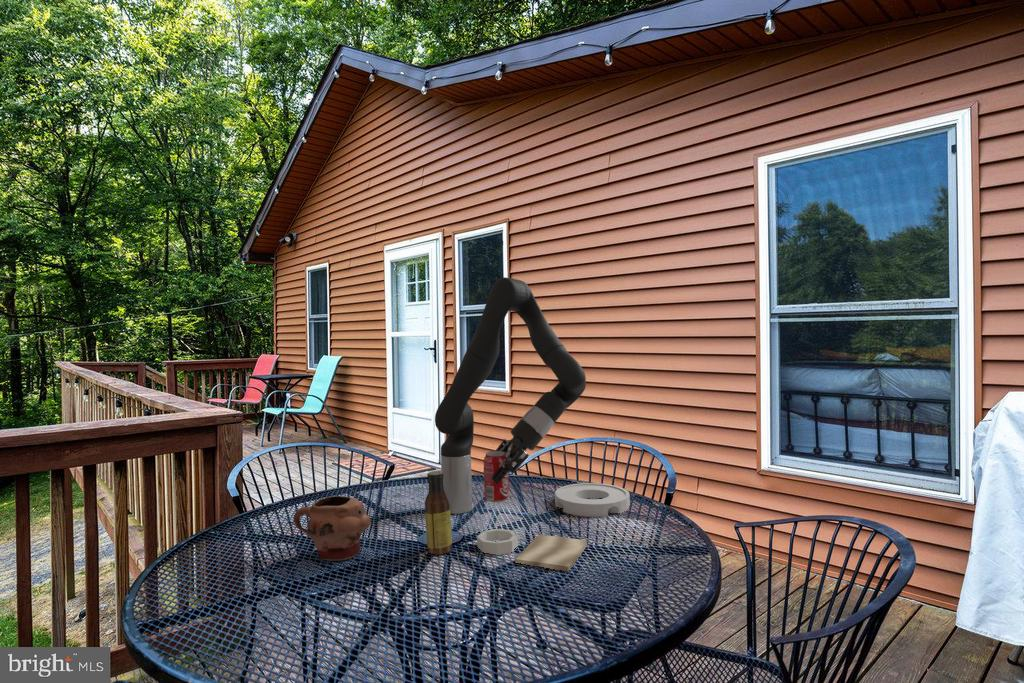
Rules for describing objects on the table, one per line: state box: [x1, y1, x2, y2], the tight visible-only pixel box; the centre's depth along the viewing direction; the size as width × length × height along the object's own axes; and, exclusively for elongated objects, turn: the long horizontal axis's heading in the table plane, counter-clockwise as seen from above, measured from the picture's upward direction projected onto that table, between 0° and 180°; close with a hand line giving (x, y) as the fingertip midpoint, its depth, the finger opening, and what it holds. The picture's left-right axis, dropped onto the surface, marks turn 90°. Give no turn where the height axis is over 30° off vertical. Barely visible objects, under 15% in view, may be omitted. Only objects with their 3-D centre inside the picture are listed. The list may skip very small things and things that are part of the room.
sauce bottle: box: [424, 470, 453, 556], centre depth 144 cm, size 6×6×20 cm
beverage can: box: [483, 450, 510, 503], centre depth 146 cm, size 6×6×12 cm
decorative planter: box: [292, 495, 372, 562], centre depth 143 cm, size 20×12×14 cm, turn 88°
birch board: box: [514, 534, 588, 572], centre depth 141 cm, size 13×17×1 cm
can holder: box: [476, 528, 519, 556], centre depth 146 cm, size 10×10×3 cm
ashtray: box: [554, 482, 631, 518], centre depth 180 cm, size 23×23×4 cm
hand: (490, 478), depth 145 cm, fingers closed on beverage can, 6 cm apart
